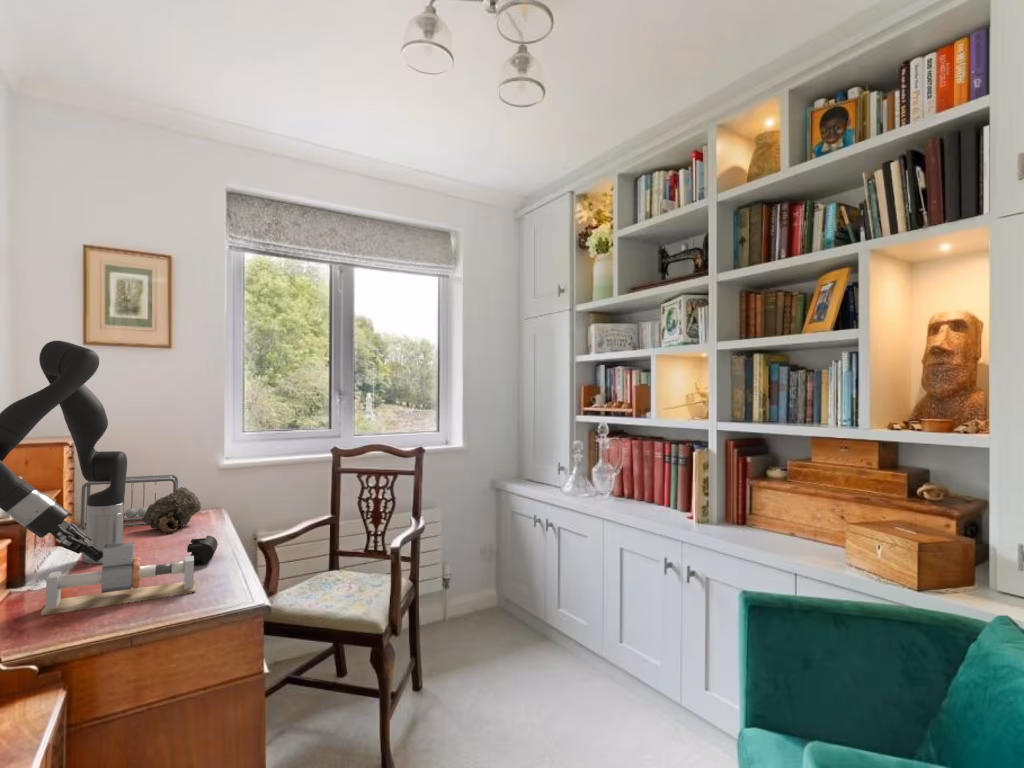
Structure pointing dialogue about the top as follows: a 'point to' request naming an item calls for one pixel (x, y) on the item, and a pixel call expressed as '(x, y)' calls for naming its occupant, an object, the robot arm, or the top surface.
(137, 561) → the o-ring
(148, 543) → the top surface
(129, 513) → the newton's cradle
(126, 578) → the grooved slider block
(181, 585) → the base board
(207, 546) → the end cap
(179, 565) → the rod
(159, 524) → the rock
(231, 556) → the top surface
